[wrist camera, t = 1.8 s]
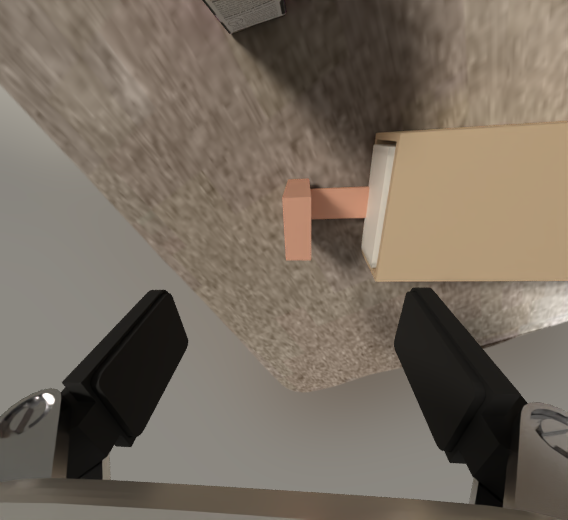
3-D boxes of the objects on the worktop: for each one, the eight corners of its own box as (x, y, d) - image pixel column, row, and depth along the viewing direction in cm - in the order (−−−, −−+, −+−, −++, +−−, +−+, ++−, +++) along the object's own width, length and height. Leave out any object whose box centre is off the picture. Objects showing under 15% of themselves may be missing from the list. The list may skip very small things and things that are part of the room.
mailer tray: (622, 130, 19) (785, 130, 12) (556, 244, 23) (648, 285, 17) (286, 149, 21) (279, 157, 15) (291, 249, 26) (287, 286, 20)
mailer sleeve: (629, 117, 19) (754, 111, 14) (553, 248, 25) (620, 280, 19) (375, 132, 21) (400, 133, 15) (361, 251, 26) (375, 281, 21)
